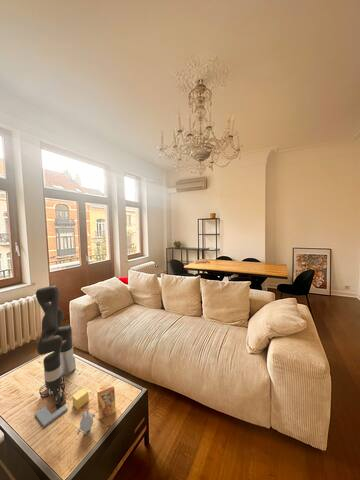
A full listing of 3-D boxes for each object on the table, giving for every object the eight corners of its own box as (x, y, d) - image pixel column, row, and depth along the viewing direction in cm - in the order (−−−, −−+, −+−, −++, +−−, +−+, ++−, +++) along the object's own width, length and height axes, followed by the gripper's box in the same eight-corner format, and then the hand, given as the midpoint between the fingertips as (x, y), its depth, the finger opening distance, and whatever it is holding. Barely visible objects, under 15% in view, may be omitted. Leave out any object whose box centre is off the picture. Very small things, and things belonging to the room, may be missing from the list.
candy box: (115, 406, 118) (113, 382, 116) (116, 412, 114) (114, 388, 112) (98, 413, 114) (96, 388, 112) (99, 420, 110) (97, 394, 108)
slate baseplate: (57, 399, 123) (57, 397, 123) (67, 409, 116) (67, 408, 116) (35, 415, 114) (35, 413, 114) (44, 427, 107) (43, 425, 107)
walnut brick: (61, 398, 108) (60, 388, 108) (66, 403, 105) (65, 393, 105) (47, 409, 103) (45, 398, 102) (51, 414, 100) (50, 403, 99)
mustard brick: (84, 396, 125) (83, 387, 125) (88, 400, 122) (88, 391, 122) (73, 405, 120) (72, 395, 119) (77, 409, 117) (76, 400, 116)
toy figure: (91, 419, 110) (89, 399, 109) (99, 424, 108) (97, 404, 106) (73, 439, 101) (71, 417, 99) (82, 444, 98) (80, 422, 97)
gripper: (68, 376, 101) (71, 406, 103) (55, 364, 109) (58, 393, 111) (51, 386, 95) (55, 419, 97) (39, 373, 103) (42, 403, 105)
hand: (56, 405), depth 104 cm, fingers closed on walnut brick, 5 cm apart
